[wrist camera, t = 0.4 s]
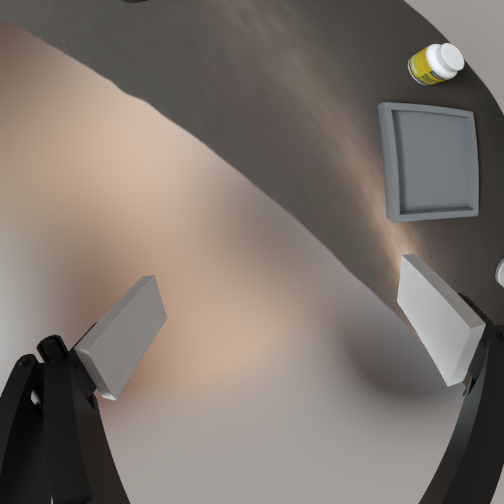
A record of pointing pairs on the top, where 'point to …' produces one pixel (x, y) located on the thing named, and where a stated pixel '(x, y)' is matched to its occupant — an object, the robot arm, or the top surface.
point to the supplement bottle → (435, 64)
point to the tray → (428, 162)
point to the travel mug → (500, 272)
